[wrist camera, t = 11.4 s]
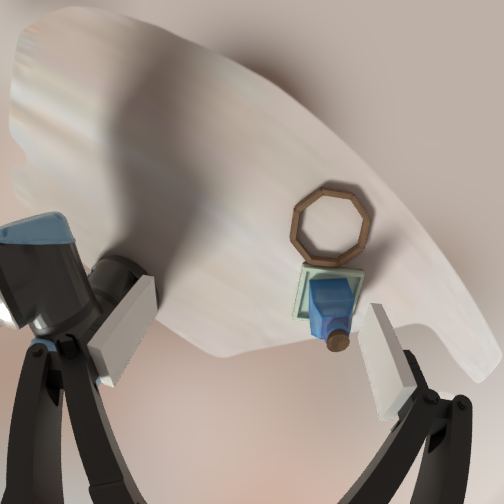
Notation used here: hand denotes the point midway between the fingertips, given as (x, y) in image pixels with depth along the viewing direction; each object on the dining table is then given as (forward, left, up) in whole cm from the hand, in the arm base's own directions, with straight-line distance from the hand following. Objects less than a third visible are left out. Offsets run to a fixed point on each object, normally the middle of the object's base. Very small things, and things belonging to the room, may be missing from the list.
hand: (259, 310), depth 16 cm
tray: (+11, -15, -27) cm, 32 cm away
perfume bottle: (+11, -15, -26) cm, 32 cm away
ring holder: (+9, -3, -27) cm, 28 cm away
